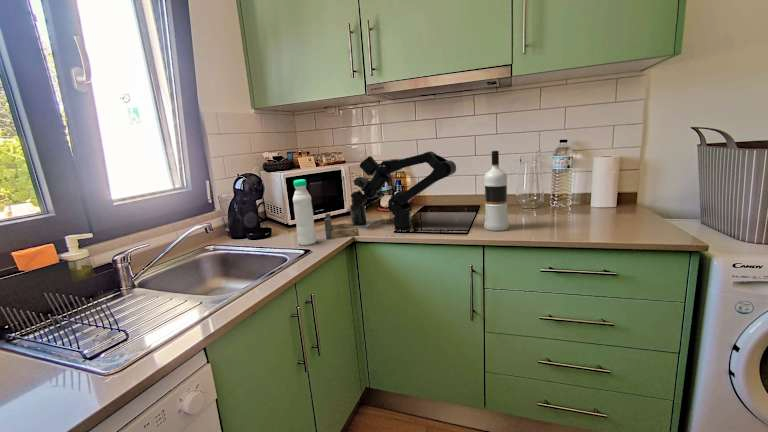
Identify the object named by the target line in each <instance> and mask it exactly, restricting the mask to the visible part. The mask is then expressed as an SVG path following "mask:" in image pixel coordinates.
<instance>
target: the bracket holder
mask: <svg viewBox="0 0 768 432" xmlns="http://www.w3.org/2000/svg"><path fill="white" fill-rule="evenodd" d="M324 216H325V218H324V221H323V222H324V229H325V230H324V231H325V237H326V238H325V240H331V239H338V238H349V236H350V237H357V236H358V230H357V229H358V228H356V226H354V224H353V223H350V222H346V223H345V222H343V223H334V224H333V223H332V218H331V213H330V212H329V213H325V215H324Z"/></svg>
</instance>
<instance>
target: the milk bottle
mask: <svg viewBox="0 0 768 432" xmlns="http://www.w3.org/2000/svg"><path fill="white" fill-rule="evenodd" d="M307 183H308V182H307V179H303V178H302V179H294V180H293V186H294V189H295V190H294V193H293V197H292V203H293V213H294V219H295V220H294V221H295V225H296V234H297V244H298V245H301V246H312V245H314V244H315V243H316V242H317V236H316V226H315V220H314V217H315V216H314V209H313V203H312V196H311V194H310V193H309V191H308V189H307Z"/></svg>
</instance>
